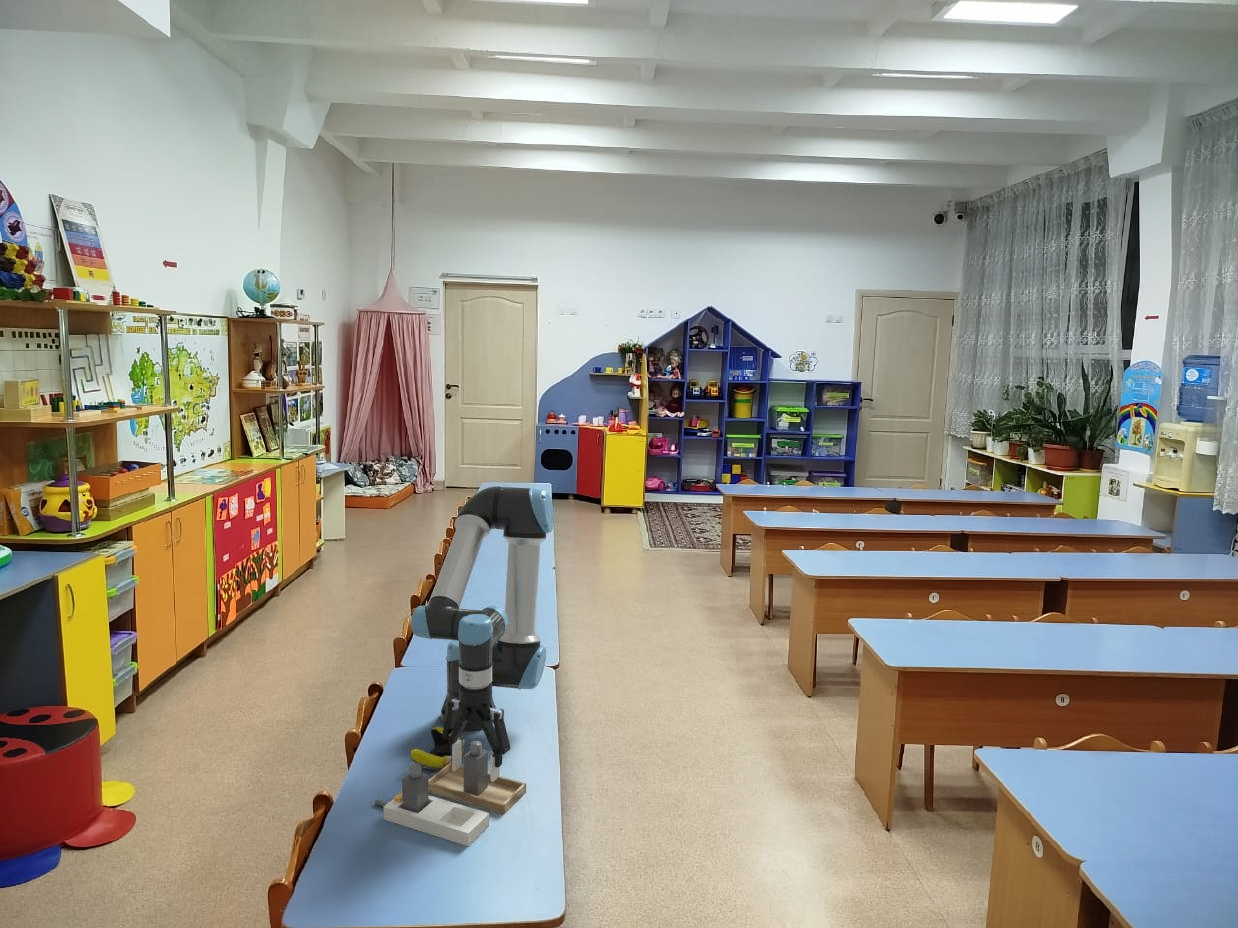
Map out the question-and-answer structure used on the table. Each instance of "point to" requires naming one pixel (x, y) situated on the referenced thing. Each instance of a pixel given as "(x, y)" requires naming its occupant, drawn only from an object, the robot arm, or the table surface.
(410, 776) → the twin plug
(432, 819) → the strip
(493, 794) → the tray
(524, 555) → the robot arm
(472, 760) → the plug
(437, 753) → the gaming controller
